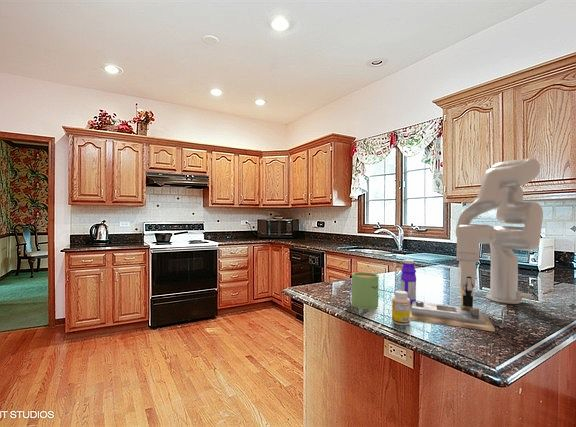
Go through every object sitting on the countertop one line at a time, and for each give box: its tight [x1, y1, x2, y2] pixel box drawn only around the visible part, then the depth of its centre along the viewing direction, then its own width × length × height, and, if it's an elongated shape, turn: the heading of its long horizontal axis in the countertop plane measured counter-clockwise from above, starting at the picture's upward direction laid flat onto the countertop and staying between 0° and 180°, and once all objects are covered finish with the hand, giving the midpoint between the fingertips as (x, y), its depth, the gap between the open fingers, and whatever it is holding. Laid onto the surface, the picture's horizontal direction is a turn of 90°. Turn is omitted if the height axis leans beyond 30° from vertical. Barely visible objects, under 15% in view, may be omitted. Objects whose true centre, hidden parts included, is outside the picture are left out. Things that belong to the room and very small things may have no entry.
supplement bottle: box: [391, 290, 411, 326], centre depth 101 cm, size 6×6×10 cm
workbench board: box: [410, 305, 496, 333], centre depth 106 cm, size 26×14×1 cm, turn 66°
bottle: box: [400, 258, 417, 305], centre depth 125 cm, size 7×6×17 cm
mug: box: [351, 271, 380, 310], centre depth 121 cm, size 13×10×12 cm
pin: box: [460, 287, 474, 311], centre depth 118 cm, size 4×4×8 cm
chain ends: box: [411, 300, 486, 325], centre depth 106 cm, size 22×9×3 cm, turn 66°
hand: (467, 304), depth 118 cm, fingers closed on pin, 4 cm apart
